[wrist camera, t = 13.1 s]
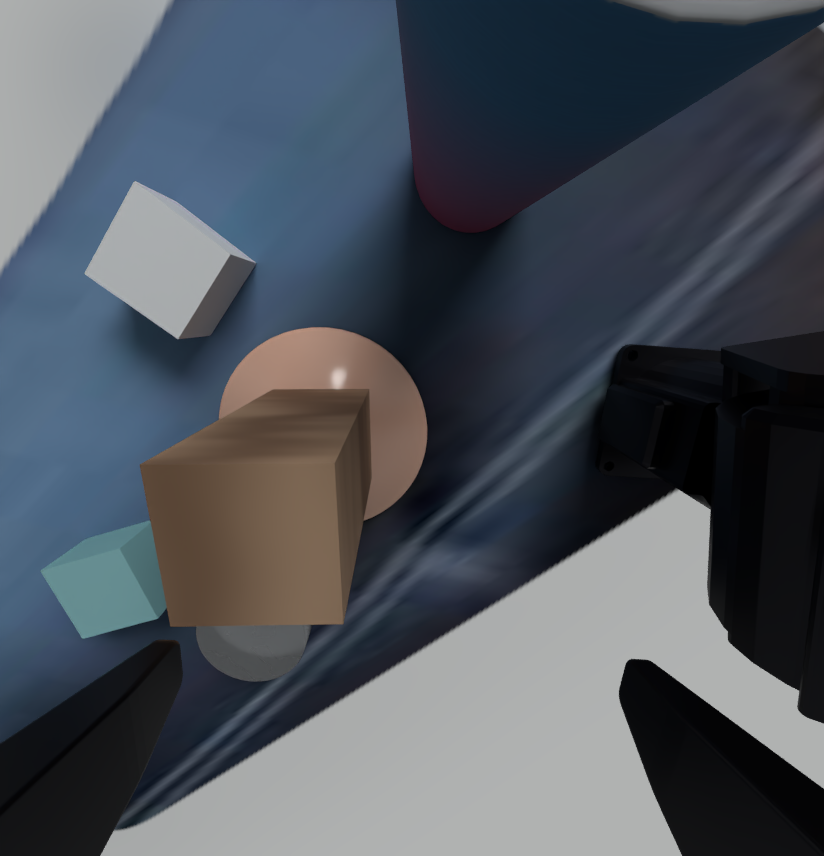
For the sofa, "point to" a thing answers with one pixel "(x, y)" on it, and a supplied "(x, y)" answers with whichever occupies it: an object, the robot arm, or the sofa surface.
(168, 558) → the walnut block
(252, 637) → the metal bowl
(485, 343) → the sofa surface
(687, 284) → the sofa surface
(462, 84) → the cup
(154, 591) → the teal block
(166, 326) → the grey block
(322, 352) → the coaster
